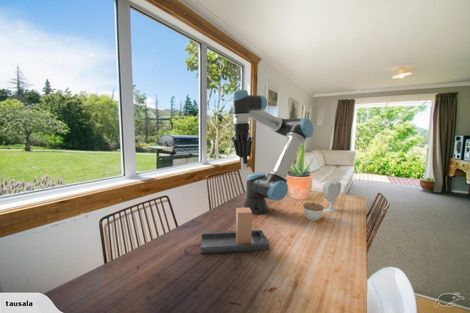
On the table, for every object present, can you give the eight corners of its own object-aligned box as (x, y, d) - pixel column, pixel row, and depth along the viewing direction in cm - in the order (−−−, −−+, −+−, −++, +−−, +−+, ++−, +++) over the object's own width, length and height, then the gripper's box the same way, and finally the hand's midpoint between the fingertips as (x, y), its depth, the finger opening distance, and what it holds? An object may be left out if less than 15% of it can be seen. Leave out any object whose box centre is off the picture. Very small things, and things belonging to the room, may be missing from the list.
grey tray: (200, 253, 86) (200, 247, 86) (201, 237, 99) (201, 232, 99) (268, 249, 89) (268, 244, 89) (261, 235, 102) (261, 230, 102)
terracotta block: (237, 244, 91) (237, 212, 90) (235, 237, 97) (236, 207, 96) (251, 243, 92) (252, 212, 90) (248, 237, 98) (249, 207, 96)
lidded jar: (323, 217, 126) (324, 201, 125) (322, 223, 116) (323, 207, 115) (304, 213, 130) (304, 198, 129) (301, 220, 120) (302, 204, 119)
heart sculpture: (327, 213, 132) (329, 184, 130) (320, 210, 136) (321, 182, 134) (340, 208, 141) (342, 181, 139) (333, 206, 145) (335, 179, 143)
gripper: (226, 123, 108) (229, 169, 111) (246, 122, 99) (249, 172, 102) (237, 123, 113) (239, 167, 116) (256, 122, 104) (258, 169, 107)
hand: (244, 169), depth 109 cm, fingers closed
